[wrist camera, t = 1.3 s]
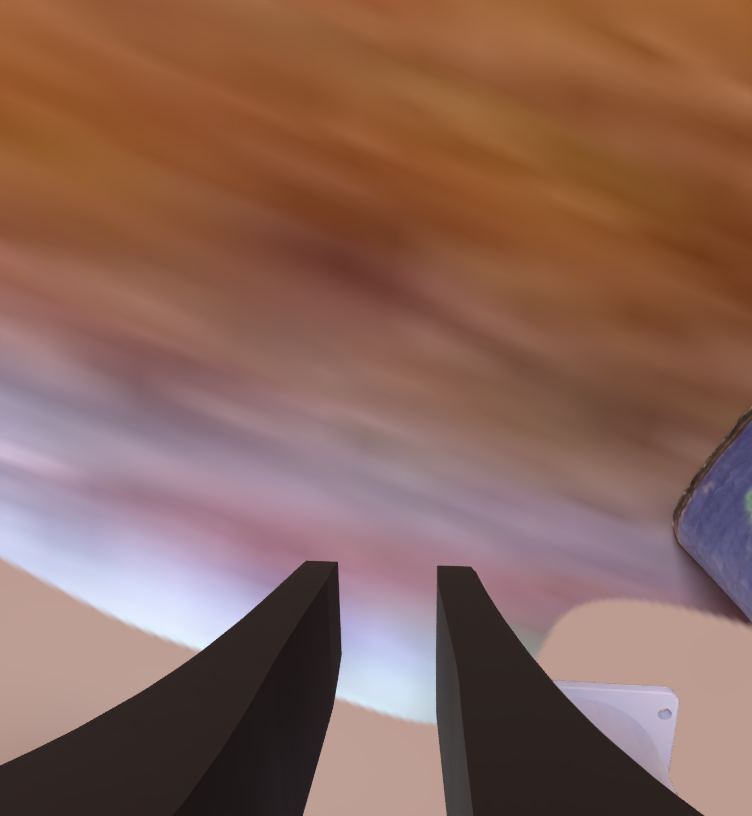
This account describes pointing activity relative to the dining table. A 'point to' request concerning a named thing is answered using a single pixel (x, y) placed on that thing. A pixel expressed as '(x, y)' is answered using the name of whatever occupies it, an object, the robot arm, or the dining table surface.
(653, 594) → the dining table surface
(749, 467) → the flask
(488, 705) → the robot arm
